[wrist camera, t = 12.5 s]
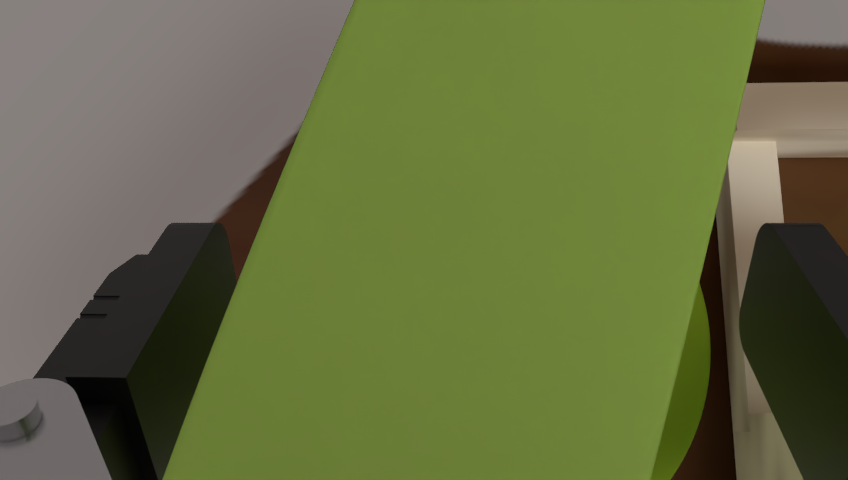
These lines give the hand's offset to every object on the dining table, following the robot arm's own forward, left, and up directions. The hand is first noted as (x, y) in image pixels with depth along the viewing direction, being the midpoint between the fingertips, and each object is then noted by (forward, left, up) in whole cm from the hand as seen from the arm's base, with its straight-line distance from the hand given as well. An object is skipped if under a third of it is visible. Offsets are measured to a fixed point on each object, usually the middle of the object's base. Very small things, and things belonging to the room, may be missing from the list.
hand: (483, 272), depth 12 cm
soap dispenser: (-1, -1, -12) cm, 12 cm away
